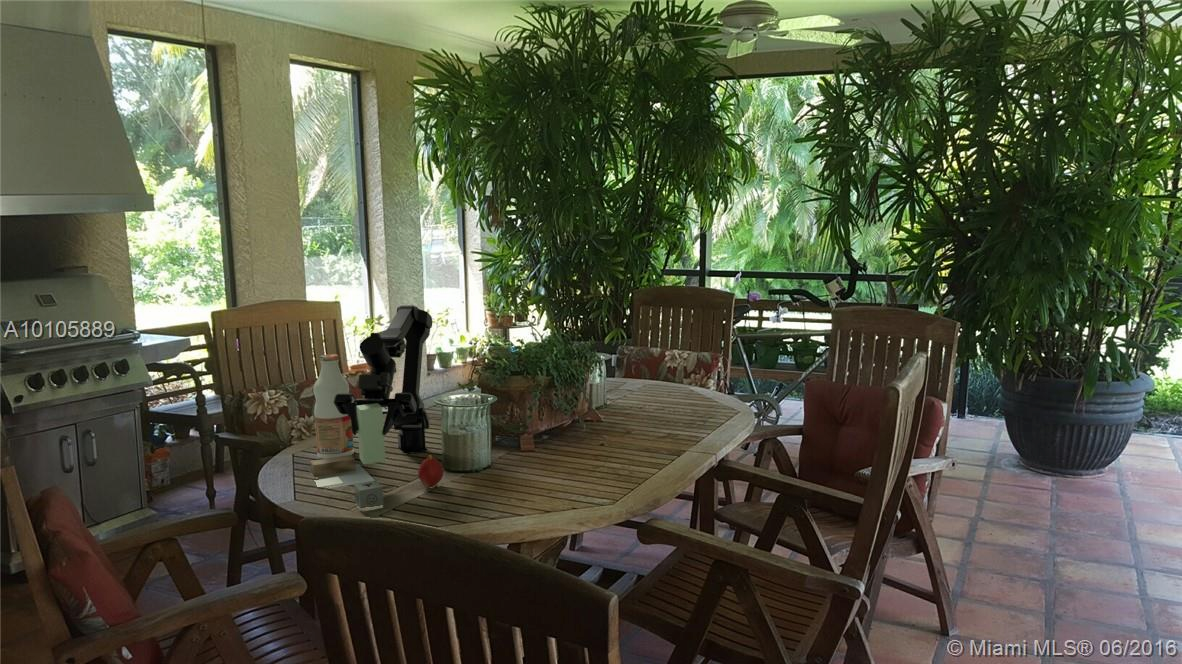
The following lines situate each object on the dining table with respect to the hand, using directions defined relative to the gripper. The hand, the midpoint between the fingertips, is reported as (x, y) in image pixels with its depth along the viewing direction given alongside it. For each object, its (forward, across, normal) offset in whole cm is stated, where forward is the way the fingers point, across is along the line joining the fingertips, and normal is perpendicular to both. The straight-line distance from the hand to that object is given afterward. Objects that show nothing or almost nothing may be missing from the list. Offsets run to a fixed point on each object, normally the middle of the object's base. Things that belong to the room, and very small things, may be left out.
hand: (368, 434), depth 194 cm
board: (+5, -11, +14) cm, 18 cm away
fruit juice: (-8, -19, +28) cm, 35 cm away
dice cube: (+18, +3, +1) cm, 18 cm away
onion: (+9, +14, +11) cm, 19 cm away
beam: (+2, -13, +16) cm, 21 cm away
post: (+4, 0, +6) cm, 7 cm away
